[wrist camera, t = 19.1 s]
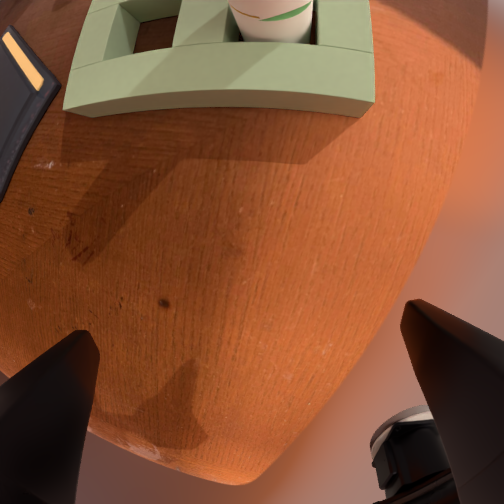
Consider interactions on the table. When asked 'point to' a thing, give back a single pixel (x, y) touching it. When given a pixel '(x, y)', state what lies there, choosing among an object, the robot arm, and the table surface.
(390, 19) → the table surface
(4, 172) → the wallet
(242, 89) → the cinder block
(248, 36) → the tube
